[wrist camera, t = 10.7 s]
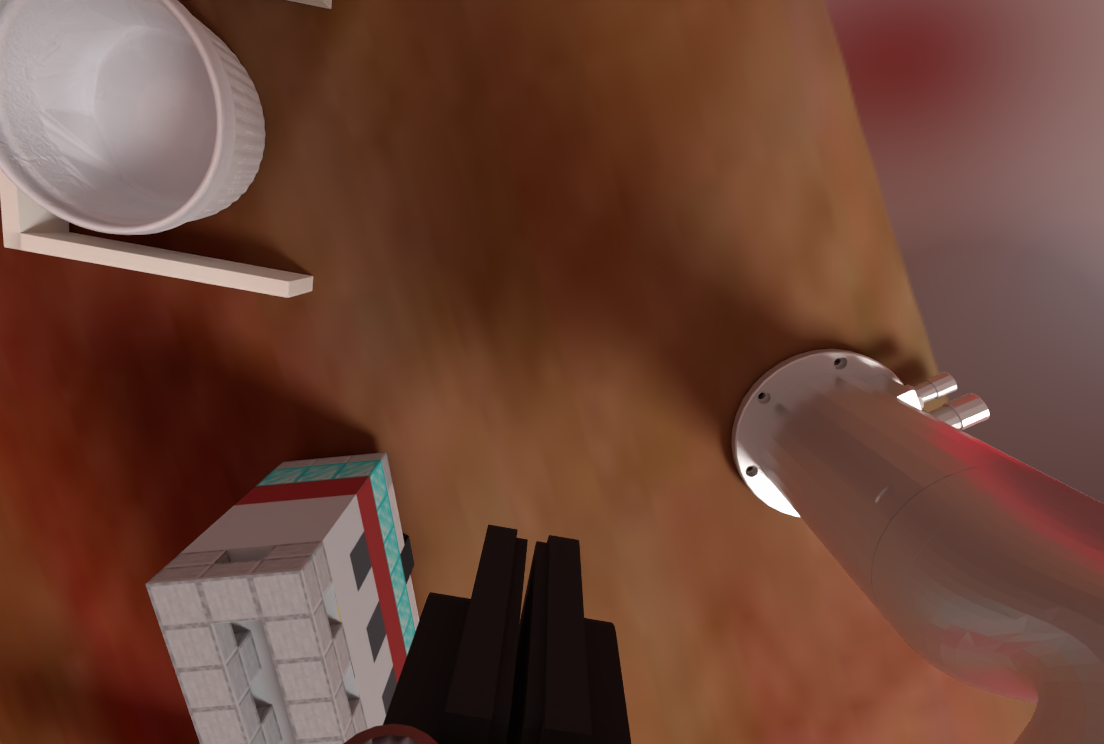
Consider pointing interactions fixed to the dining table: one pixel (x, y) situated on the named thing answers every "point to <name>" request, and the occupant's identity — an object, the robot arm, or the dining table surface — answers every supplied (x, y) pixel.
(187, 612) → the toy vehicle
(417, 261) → the dining table surface
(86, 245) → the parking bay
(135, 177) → the ramekin
